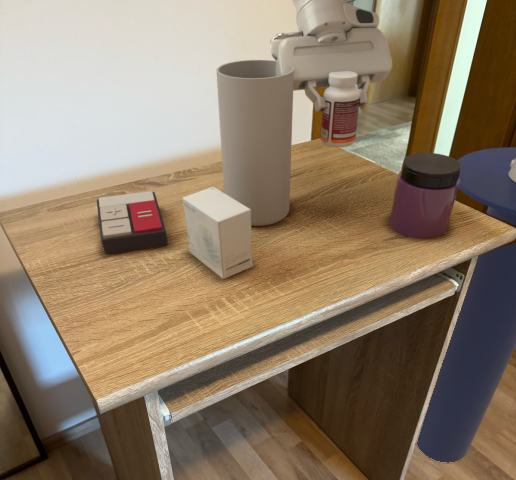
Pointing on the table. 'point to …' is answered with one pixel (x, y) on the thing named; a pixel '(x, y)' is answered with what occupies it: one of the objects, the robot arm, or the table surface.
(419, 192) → the jar
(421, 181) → the jar lid
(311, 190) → the table surface
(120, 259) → the table surface
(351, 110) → the pill bottle
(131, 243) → the calculator
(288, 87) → the cylinder vase
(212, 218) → the cosmetics box
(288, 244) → the table surface
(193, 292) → the table surface
